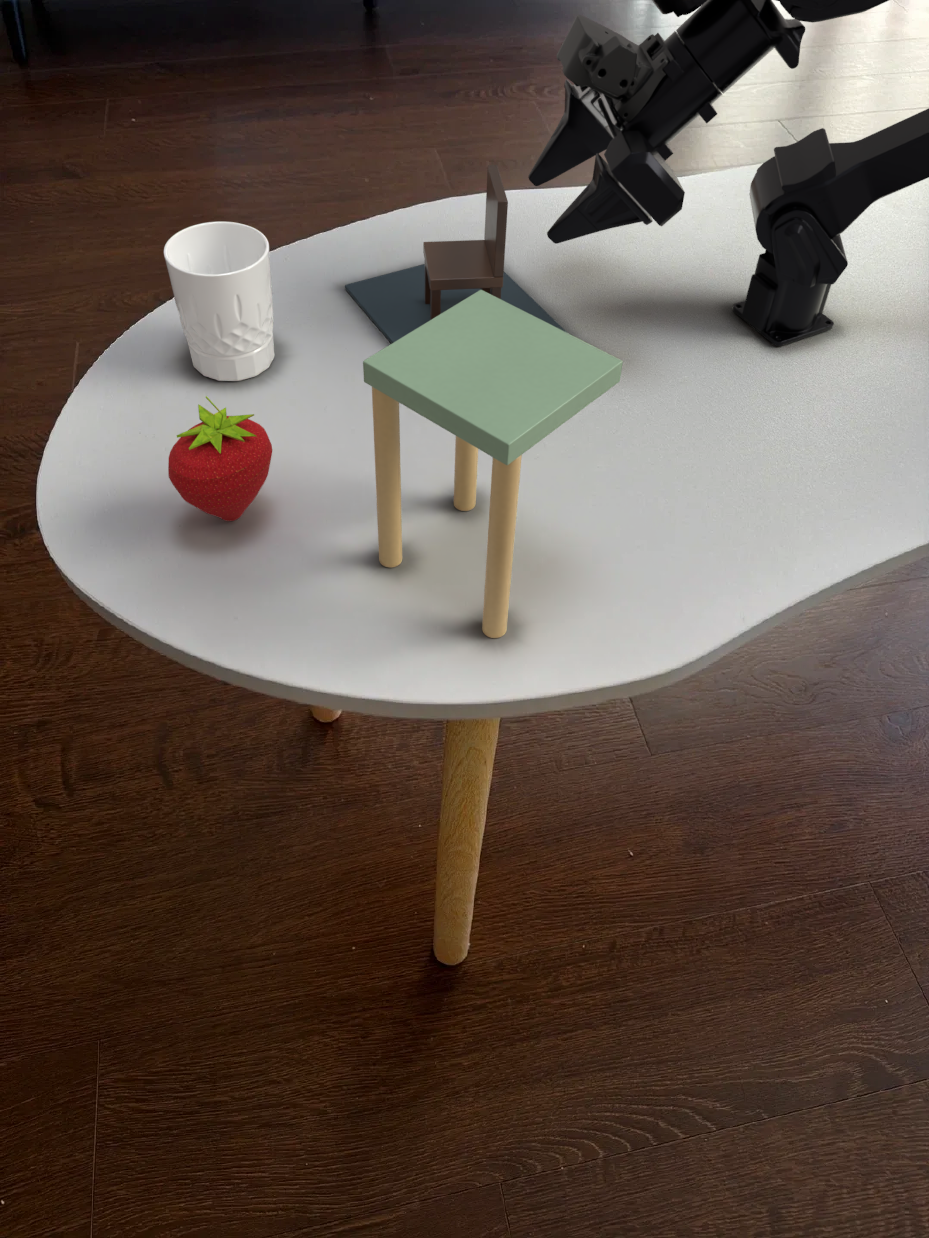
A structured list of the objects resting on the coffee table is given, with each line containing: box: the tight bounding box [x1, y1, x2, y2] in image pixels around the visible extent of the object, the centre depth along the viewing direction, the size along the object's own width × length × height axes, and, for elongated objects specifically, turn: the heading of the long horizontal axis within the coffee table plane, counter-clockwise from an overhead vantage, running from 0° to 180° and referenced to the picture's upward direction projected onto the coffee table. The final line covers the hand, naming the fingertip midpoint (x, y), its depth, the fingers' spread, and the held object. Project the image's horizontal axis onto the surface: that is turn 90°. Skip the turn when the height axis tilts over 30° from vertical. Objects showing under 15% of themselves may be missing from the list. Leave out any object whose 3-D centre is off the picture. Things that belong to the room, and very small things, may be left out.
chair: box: [422, 164, 509, 320], centre depth 91 cm, size 6×6×12 cm
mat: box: [344, 263, 568, 344], centre depth 95 cm, size 14×18×1 cm
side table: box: [362, 290, 624, 639], centre depth 70 cm, size 10×11×16 cm
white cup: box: [163, 221, 275, 382], centre depth 87 cm, size 8×8×10 cm
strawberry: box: [167, 395, 273, 522], centre depth 74 cm, size 6×8×10 cm
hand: (540, 209), depth 88 cm, fingers open, 9 cm apart
